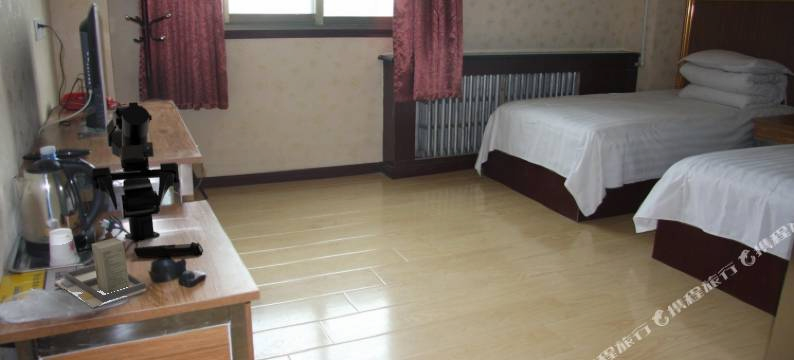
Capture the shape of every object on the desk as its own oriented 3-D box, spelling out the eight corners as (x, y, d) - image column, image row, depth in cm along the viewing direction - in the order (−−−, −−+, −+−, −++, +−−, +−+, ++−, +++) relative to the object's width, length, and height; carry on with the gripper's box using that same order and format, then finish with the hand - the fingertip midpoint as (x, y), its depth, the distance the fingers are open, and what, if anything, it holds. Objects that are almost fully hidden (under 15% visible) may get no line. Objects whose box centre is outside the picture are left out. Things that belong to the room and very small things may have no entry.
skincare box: (121, 281, 134) (115, 236, 132) (130, 287, 131) (125, 241, 129) (96, 288, 131) (90, 243, 128) (105, 294, 128) (99, 248, 125)
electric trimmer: (137, 256, 151) (135, 244, 150) (203, 251, 154) (202, 238, 153) (133, 262, 148) (132, 249, 147) (202, 256, 151) (200, 244, 150)
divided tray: (55, 283, 134) (54, 275, 134) (106, 268, 142) (105, 261, 142) (93, 308, 123) (92, 300, 123) (146, 290, 131) (145, 282, 131)
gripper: (86, 132, 140) (86, 193, 133) (174, 128, 146) (179, 185, 139) (94, 159, 149) (95, 217, 142) (177, 154, 155) (181, 209, 148)
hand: (137, 207), depth 142 cm, fingers open, 9 cm apart
